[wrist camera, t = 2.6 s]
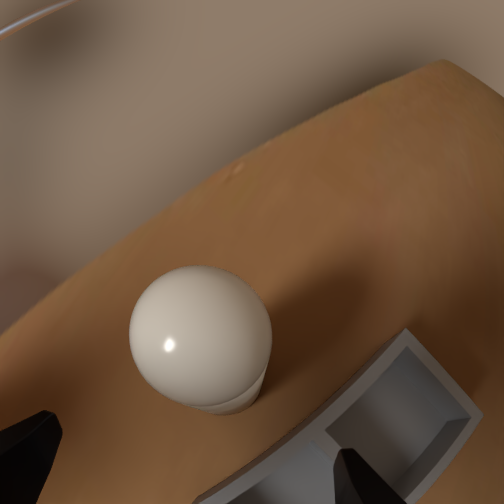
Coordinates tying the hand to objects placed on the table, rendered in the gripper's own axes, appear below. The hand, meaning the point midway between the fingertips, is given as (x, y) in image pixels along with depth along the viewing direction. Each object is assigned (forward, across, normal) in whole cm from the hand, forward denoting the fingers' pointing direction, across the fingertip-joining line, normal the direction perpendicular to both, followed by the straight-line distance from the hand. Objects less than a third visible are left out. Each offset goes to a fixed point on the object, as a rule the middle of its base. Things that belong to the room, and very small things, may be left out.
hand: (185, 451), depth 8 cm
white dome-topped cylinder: (+10, 0, +5) cm, 11 cm away
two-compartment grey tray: (+6, -8, +9) cm, 13 cm away
